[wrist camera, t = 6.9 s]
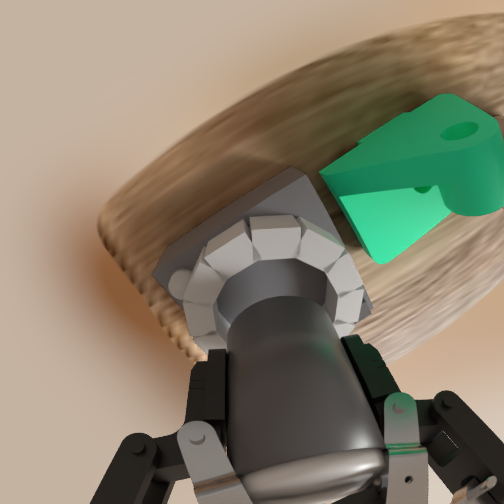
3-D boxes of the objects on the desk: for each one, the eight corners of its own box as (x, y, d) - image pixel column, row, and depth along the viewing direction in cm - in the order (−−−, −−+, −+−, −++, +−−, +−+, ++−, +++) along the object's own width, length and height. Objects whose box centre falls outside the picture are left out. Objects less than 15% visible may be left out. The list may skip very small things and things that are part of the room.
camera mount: (363, 254, 20) (438, 340, 10) (313, 169, 17) (397, 212, 8) (463, 176, 18) (554, 213, 8) (431, 94, 15) (535, 95, 5)
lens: (337, 289, 11) (420, 442, 4) (325, 367, 13) (367, 493, 6) (220, 300, 11) (214, 483, 4) (232, 377, 13) (236, 514, 6)
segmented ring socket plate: (290, 165, 17) (317, 180, 11) (352, 278, 20) (385, 325, 15) (166, 247, 19) (141, 293, 13) (245, 338, 22) (248, 395, 17)
